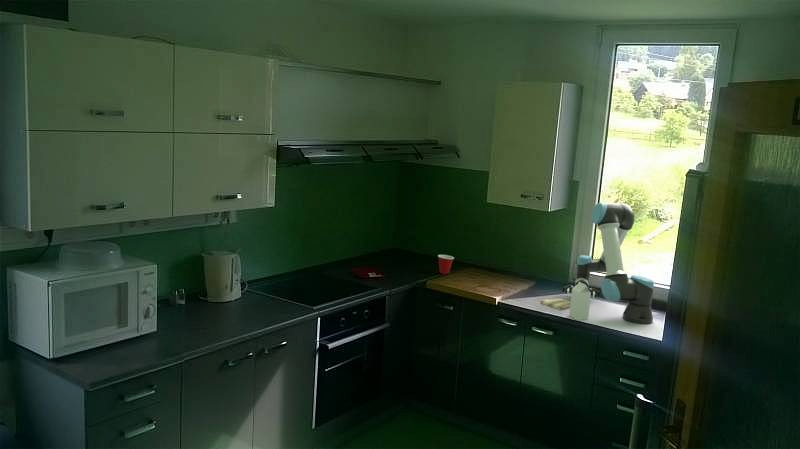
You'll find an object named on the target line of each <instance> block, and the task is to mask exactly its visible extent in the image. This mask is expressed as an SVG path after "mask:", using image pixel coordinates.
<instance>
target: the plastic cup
mask: <svg viewBox="0 0 800 449" xmlns="http://www.w3.org/2000/svg"><path fill="white" fill-rule="evenodd" d="M437 258H438V265H439V274H440V273H442V274H447V273H449V274H450V270H451V267H452V264H453V261H454V259H455V257H454V256H452V255H448V254H438V255H437ZM442 274H441V275H442Z"/></svg>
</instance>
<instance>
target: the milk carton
mask: <svg viewBox="0 0 800 449" xmlns="http://www.w3.org/2000/svg"><path fill="white" fill-rule="evenodd" d="M574 286H575V285H574ZM588 287H589V286H588ZM588 287H587V286H586V285H585V284H583V283H581V282H578V284H577V285H576V286H575V287H574V288H572V292H571V294H570V302H571V303H570V308H569V315H568V316H569V317H571V318H572V319H574V320H576V321H580V320H581V321H583V320H589V312H590V303H591V296H592V295H591V292H590V291H589V290H588V289H587V288H588Z"/></svg>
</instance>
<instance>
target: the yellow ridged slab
mask: <svg viewBox="0 0 800 449" xmlns="http://www.w3.org/2000/svg"><path fill="white" fill-rule="evenodd" d="M570 303H571V300H566V299H563V298H559V297H556V296H552V297H550V298H545V299H542V300H540V304H542V305H545V306H548V307H552V308H556V309H559V310H562V311H565V310H570Z"/></svg>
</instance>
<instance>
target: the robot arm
mask: <svg viewBox="0 0 800 449" xmlns="http://www.w3.org/2000/svg"><path fill="white" fill-rule="evenodd" d="M592 208H593V209H592V211H591V221H592V223H593V224H594V225H597V226H596V227H597V229H598V230H599V231H600V233H601V234H600V236H601V242H602V247H603V248H602V250H603V251H602V253H601V255H600V257H599V259H597V258H596V259H592V256H590V255H584V254H580V255H579V256H578V258H577V263H576V264H577V265H576V275H575V282H574V285H572V284H568V285H565V286H562V289H561V292H563V293H565V294H566V296H567V297H569V295H570V293H572V288H574V287H575V286H576V285H577V284H578V282H581V283H583V284H585V285H586V286H587V287H588V288H587V289H588V290H589V291H590V292H591V296H592V300H595V298H597V297H598V298H599V297H601V293H602V296H603V297H604V298H605V299H606V300H607V301H609V302H627V305H626V307H625V308H624V311H623V313H622V318H623V319H624V320H626V321H627V322H631V323H634V324H641V325H643V324H644V325H646V324H647V325H649V324H652V323H653V322H654V315H653V312H652V301H653V293H654V289H655V288H654V285H655V283H654V281H653V280H652V279H650V278H647V277H644V276H640V275H630V276H631V277H630V278H628V274H627V273H626V272H625V270H624V266H623V259H622V258H623V257H622V251H621V246H622V244H623V242H624V240H625V239H626V236H627V234H628V232H629V231H630V230H632V228H633V226H634V223H635V213H634V210H633V209H632V207H631V206H630V205H629V204H626V203H623V202H606V201H605V202H598V203H596V204H595V205H594V206H593V207H592ZM591 273H606V274H605V275H604V279H603V280H602V281H601V285H600V288H601V291H599V290H597V289H596V288H595V287H591V288H590V287H589V285H590V284H589V283H590V275H591Z"/></svg>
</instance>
